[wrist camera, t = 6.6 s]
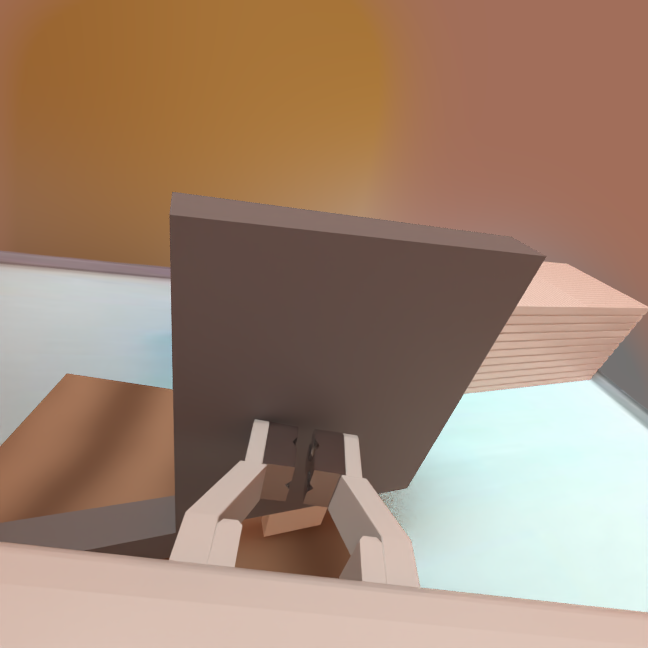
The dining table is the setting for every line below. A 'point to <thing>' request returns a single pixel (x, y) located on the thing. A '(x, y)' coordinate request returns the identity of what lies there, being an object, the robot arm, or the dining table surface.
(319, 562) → the wooden cutting board
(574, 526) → the dining table surface
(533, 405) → the dining table surface
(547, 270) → the stack of papers
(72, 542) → the paddle
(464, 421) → the dining table surface
